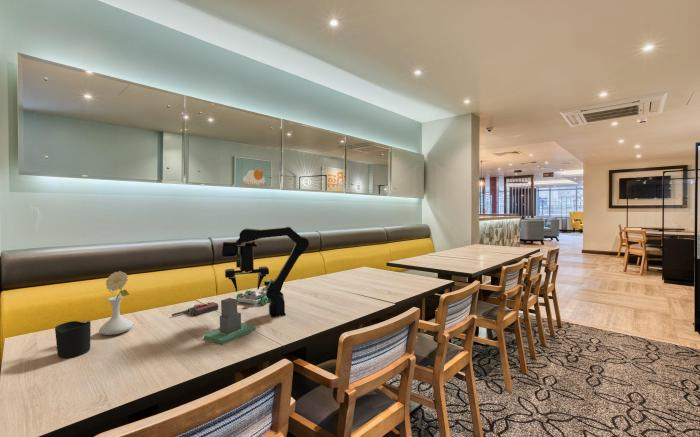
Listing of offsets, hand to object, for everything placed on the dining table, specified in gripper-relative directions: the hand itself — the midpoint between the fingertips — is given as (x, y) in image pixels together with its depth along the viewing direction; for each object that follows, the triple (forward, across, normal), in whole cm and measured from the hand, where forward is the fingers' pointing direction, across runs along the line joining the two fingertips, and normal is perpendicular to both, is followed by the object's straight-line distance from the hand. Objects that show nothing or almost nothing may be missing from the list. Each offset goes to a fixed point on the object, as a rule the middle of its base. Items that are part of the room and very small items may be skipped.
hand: (247, 290), depth 150 cm
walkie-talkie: (+13, +22, -15) cm, 29 cm away
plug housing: (+11, +8, +18) cm, 22 cm away
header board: (+12, +8, +18) cm, 23 cm away
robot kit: (+12, -9, -26) cm, 31 cm away
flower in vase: (+12, +50, -1) cm, 52 cm away
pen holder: (+12, +59, +15) cm, 62 cm away
